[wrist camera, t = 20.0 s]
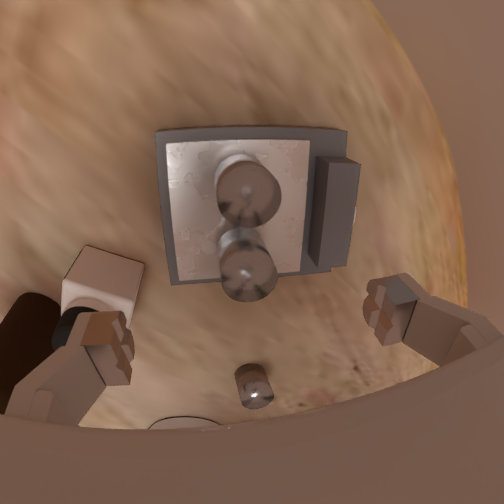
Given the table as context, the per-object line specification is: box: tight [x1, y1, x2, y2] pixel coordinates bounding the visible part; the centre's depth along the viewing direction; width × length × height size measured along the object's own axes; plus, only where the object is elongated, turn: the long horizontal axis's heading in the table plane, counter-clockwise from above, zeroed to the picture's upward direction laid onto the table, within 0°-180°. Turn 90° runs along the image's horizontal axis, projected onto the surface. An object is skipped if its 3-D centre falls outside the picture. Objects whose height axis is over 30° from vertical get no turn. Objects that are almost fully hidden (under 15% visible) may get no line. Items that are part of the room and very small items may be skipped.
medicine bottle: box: [52, 246, 144, 351], centre depth 26 cm, size 7×7×12 cm
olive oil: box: [0, 293, 61, 415], centre depth 21 cm, size 11×11×25 cm
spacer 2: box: [216, 227, 278, 302], centre depth 26 cm, size 4×4×5 cm
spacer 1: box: [214, 154, 282, 228], centre depth 23 cm, size 4×4×5 cm
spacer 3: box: [235, 364, 274, 409], centre depth 39 cm, size 4×4×5 cm
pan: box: [166, 139, 310, 281], centre depth 27 cm, size 13×12×1 cm
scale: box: [155, 125, 361, 285], centre depth 27 cm, size 15×18×6 cm
